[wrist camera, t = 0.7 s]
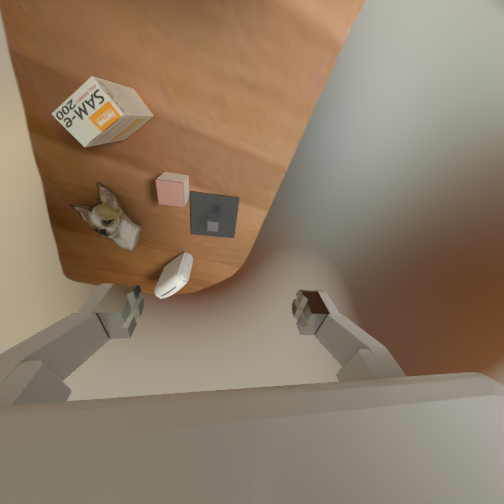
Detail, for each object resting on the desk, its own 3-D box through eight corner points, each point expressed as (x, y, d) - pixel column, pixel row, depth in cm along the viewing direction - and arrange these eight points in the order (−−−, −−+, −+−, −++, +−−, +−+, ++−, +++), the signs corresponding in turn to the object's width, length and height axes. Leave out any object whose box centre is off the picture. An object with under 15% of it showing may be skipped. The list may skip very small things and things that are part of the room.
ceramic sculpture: (112, 264, 44) (46, 215, 36) (129, 246, 51) (77, 202, 44) (144, 244, 42) (81, 187, 34) (157, 227, 49) (107, 177, 41)
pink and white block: (164, 171, 41) (155, 179, 36) (188, 175, 42) (182, 183, 37) (167, 194, 44) (158, 204, 39) (189, 197, 45) (184, 207, 40)
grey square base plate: (190, 191, 44) (186, 199, 39) (239, 197, 46) (240, 206, 42) (191, 233, 51) (187, 244, 46) (233, 237, 53) (234, 248, 48)
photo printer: (185, 249, 54) (175, 278, 44) (196, 257, 56) (189, 287, 46) (162, 266, 57) (148, 297, 47) (173, 273, 59) (162, 304, 49)
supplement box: (135, 87, 32) (90, 71, 22) (155, 116, 35) (125, 115, 25) (103, 115, 34) (47, 112, 24) (125, 140, 37) (84, 149, 26)
